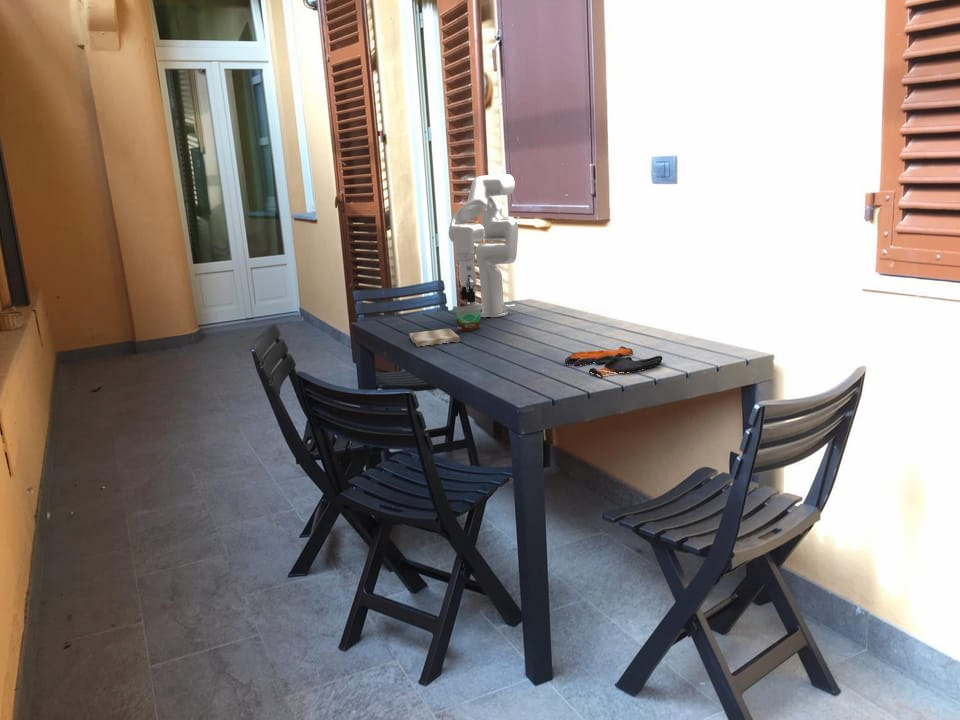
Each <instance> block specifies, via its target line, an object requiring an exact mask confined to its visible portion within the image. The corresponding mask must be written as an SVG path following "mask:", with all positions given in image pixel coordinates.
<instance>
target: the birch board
mask: <svg viewBox="0 0 960 720" xmlns="http://www.w3.org/2000/svg"><path fill="white" fill-rule="evenodd" d="M410 338H411V339H410ZM409 339H410V340H411V341H412V343H413V344H414V343H415V344H416V345H415V344H414V345H415V346H416V347H417V348H421V347H420V346H423V347H426V346H425V345H431V346H435V345H434V344H439V345H443V344H442V343H447V344H450V343H449V342H456V343H460V342H459V341H461V339H460V336H459V335H458V334H457V333H455V331H453V330H452V329H451V328H450V327H449V328H441V329H434V330H424V331H418V332H410V333H409Z"/></svg>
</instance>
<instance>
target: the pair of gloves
mask: <svg viewBox="0 0 960 720" xmlns="http://www.w3.org/2000/svg"><path fill="white" fill-rule="evenodd" d="M629 354H632V355H634V351H633V350H632V348H630V347H629V348H627V347H626V346H623V345H622V346H621V345H620V347H618V349H614V350H611V349H610V350H608V349H607V350H604V349H603V350H590V351H577V352H574V353H572V354H570V355H569V356H567V357H566V358H565V359H564V365H565V364H566V365H565V366H567V364H568V365H569V364H574V365H573V367H574V366H580V365H585V364H589V365H591V364H590V363H593V362H595V363H596V364H598V365H601V364H600V363H605V364H604V366H603V368H601V369H596V368H594V367H592V368H590V369H589V370H588V374H589V373H590V372H592V373H595V374H598V375H600V376H603V375H606V374H614V373H609V372H604V371H599V370H607V371H610V372H616V373H619V372H624V373H627V372H632V373H634V372H633V371H638V370H641V371H643V370H642V369H645V370H647V369H651V368H650V367H652V368H655V367H658V366H659V365H660V364H661V363H662V361H663V356H661V355H655V356H653V357H649V358H646V359H645V358H644V359H638V360H633V357H631V356H630V355H629ZM624 355H626V356H624ZM621 356H622V357H621ZM659 363H660V364H659ZM569 366H570V365H569ZM585 366H586V365H585ZM654 366H655V367H654ZM580 367H581V366H580ZM646 368H647V369H646ZM638 372H639V371H638ZM595 374H594V375H595Z"/></svg>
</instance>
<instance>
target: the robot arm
mask: <svg viewBox="0 0 960 720" xmlns="http://www.w3.org/2000/svg"><path fill="white" fill-rule="evenodd" d="M515 187H516V184H515V179H514V177H513V176H512V175H511V174H507V173H505V174H490V175H479V176H477V177H474V179H473V180H472V182H471V185H470V190H469V194H468V197H467V201H466V203H465V204H463V205H461V207H460V208H459V209H458V210H457V211H456V212H455V213H454V214H453V215H452V217H451V220H450V222H449V223H450V224H449V228H448V237H449V241H451V243H454V253H455V262H457V263H458V278H459V279H458V280H459V284H460V293H461V294H460V295H461V300H463V301H464V300H466V303H475V302H476V294H475V287H476V286H477V276H476V269H475V262H474V261H476V260H477V267H478V270H479V271H478V273H479V285H480V297H481V298H480V299H481V305H482V309H481V310H482V311H481V313H480V318H486V317H491V318H498V317H499V318H500V317H504V316H508V314H509V310H514V309H516V306H515V304H506V303H504V302H505V301H504V290H503V289H504V287H503V275H502V271H501V270H500V269H499V268H498V266H497V265H509V264H513V263H515V262H516V260H517V254H518V242H519V241H518V239H519V227H518V221H517V220H516V218H514V217H511V216H503V211H502V210H503V209H502V207H503V206H502V205H501V204H500V202H499V201H498V200H497V199H496V196H497V197H500V196H510V195H512V193H513V192H514V190H515ZM480 216H481V223H476V222H474V223H467V222H468V221H471V220H473V219H476V218H477V217H480ZM483 240H486V241H484V242H482V241H483ZM502 240H503V241H502ZM480 242H481V243H480ZM475 243H479V244H477V246H476V248H475Z"/></svg>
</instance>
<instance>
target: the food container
mask: <svg viewBox="0 0 960 720" xmlns="http://www.w3.org/2000/svg"><path fill="white" fill-rule="evenodd" d="M481 310H482V302H479V304H476V305H464V306H454V305H453V307H452V312H453V313H454V318H455V323H456V328H457V331H458V330H460V331H459V332H471V331H470V330H474V331H477V329H478V330H480V329H481V317H480V313H481V312H482V311H481ZM479 328H480V329H479Z"/></svg>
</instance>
